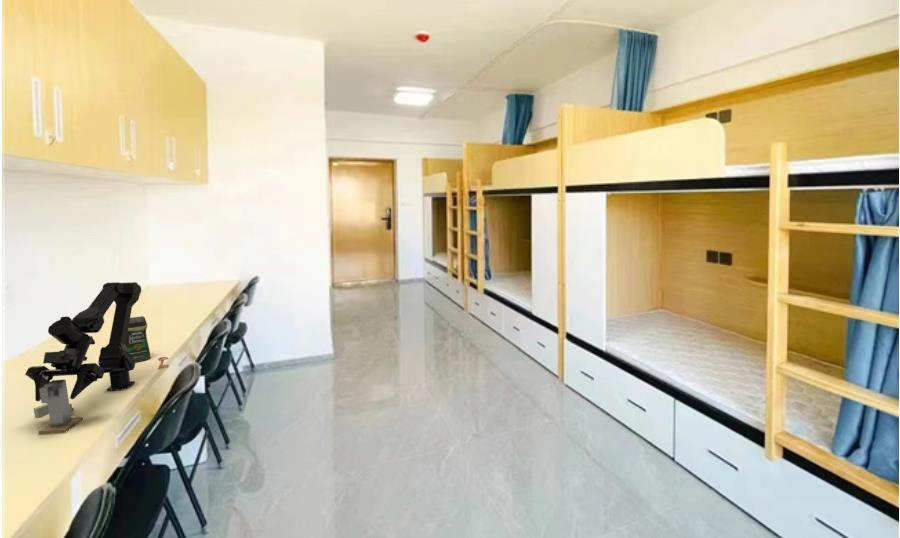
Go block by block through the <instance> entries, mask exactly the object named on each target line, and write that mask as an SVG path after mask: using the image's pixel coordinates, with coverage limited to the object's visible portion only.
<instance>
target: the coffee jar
mask: <svg viewBox="0 0 900 538" xmlns="http://www.w3.org/2000/svg"><path fill="white" fill-rule="evenodd" d="M147 328H148V322H147V319H146V317H145V316H143V315H142V316H134V317H130V321H129V327H128V333H127V338H126V347H127V348H128V350H129V357H130V358H132V359H133V360H134V361H135V363H137V362H138V363H139V362H142V361H143V362H144V361H146V360H149V359H150V358H151V351H150V346H149V342H148V337H147Z"/></svg>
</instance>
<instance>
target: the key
mask: <svg viewBox="0 0 900 538" xmlns="http://www.w3.org/2000/svg"><path fill="white" fill-rule="evenodd" d="M169 359H170V358H169V357H165V356H163V357H158V359H157V360H158V361H160V364H159V366H158V368H157V370H162V369H167V368H169V367H170V364H164V361H166V360H169Z"/></svg>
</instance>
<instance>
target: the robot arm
mask: <svg viewBox="0 0 900 538" xmlns="http://www.w3.org/2000/svg"><path fill="white" fill-rule="evenodd" d="M141 293H142V287H141V285H140V284H138V282H135V281H133V282H118V281H116V282H113V281H111V282H105V283H103V285H102V289H101V290H100V291H99V293H98V294H97V295H96V297H95V298H94V299H93V300H92V302H91V304H90V305H89V306H88V307H87V308H86V309H84V310H82V311H80V312H78V313H77V314H75V316H74V317H73V318H71V317H70V316H61V317H60V319H58V320H55V322H53V323H51V325H49V327H48V329H47V333H48V334H49V335H50V336H51V337H53V338H54V339H55V340H56V341H58V342H59V343H61V344H63V345H65V346H64V349H63V350H62V349H61V350H59V351H46V352H44V355H43V356H44V357H43V362H42V364H44V365H36V366H30V367H28V368H27V370H26V372H25V374H24V375H25V376H27V377H28V378H29V379H31V381H33V382H34V386H35V389H34V390H35V391H34V392H35V396H34V398H35V401H36V402H41V397H40V391H39V389H40V388H42V387H44V386H45V384H47V383H49V382H51V381H53V380H54V377H62V376H64V377H65V376H76V381H75V384H74V386H73V388H72V391H71V393H70V395H69V396H70V397H69V398H70V399H71V400H74V399H75V398H76V397H77V396H79V395H80V394H81V393H82V392H83V391H84V390H85V389H87V387H89V386H91V384H92V383H94V382H97V381H98V379H99V380H100V379H103V378H104V374H108V373H109V382H110V386H109V387H108V388H106V391H107V390H108V391H119V390H127V389H128V388H130V387H131V386H132V385H134V384H135V383H136V381H135V380H132V381H131V378H130V372H131V371H133V370H134V369H135V367H136V362H135V361H134V360H133V359H132V358H130V357H129V350H128V348H127V347H126V338H127V333H128V327H129V321H130V318H131V315H132V310H133V309H132V308H133V306H134V305H135V304H136V303H137V302H138V301H139V300H140V295H141ZM113 303H115V309H114V315H113V320H112V323H111V324H112V325H111V331H110V335H109V340H108V344H107V345H106V346H102V347H101V348H100V351H99V356H98V358H97V359H98V362H97V363H98V364H97V363H96V362H89V363H84V362H87V360H88V357H87V352H88V350H89V349H90V346H92V345H95V344H96V341H95V339H94V337H93V336H92V335H91V336H90V335H89V334H94V333H95V334H96V333H99V332H100V331H101V329H102V327H103V326H104V323H105V317H104V316H105V314H106V313H107V312H108V310H109V309H110V307H111V306H112V304H113ZM45 364H50V366H51V367H52V368H55V369H50V368H48V367H47V366H45ZM108 391H107V392H108Z"/></svg>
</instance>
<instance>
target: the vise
mask: <svg viewBox="0 0 900 538" xmlns="http://www.w3.org/2000/svg"><path fill="white" fill-rule="evenodd" d="M69 406H70V412H71V414H73V413H74V412H75V409H74V407H73V406H72V403H69ZM73 411H74V412H73ZM72 412H73V413H72ZM33 413H34V418H38V419H39V418H43V417H44V416H47V415H49V411H48V404H47V403H42V405H38V406H36V407H34V408H33Z"/></svg>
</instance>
